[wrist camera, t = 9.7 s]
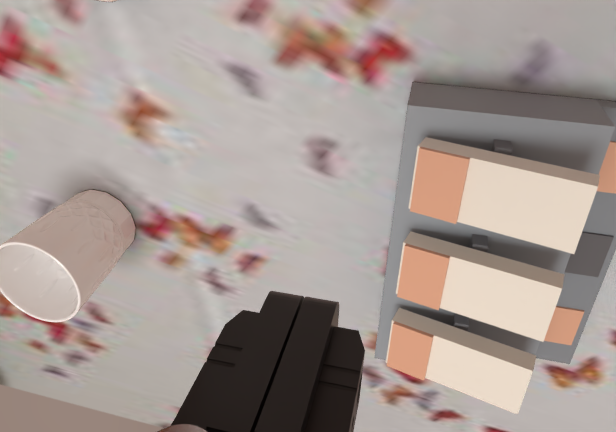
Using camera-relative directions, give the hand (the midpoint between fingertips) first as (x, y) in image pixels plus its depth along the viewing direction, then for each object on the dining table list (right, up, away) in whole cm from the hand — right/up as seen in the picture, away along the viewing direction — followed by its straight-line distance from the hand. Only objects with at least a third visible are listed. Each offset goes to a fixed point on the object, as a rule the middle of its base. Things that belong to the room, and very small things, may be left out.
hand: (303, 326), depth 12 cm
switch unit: (+15, +1, +30) cm, 33 cm away
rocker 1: (+11, +4, +20) cm, 24 cm away
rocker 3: (+11, -8, +27) cm, 31 cm away
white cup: (-19, +2, +39) cm, 43 cm away
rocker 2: (+11, -2, +24) cm, 26 cm away
